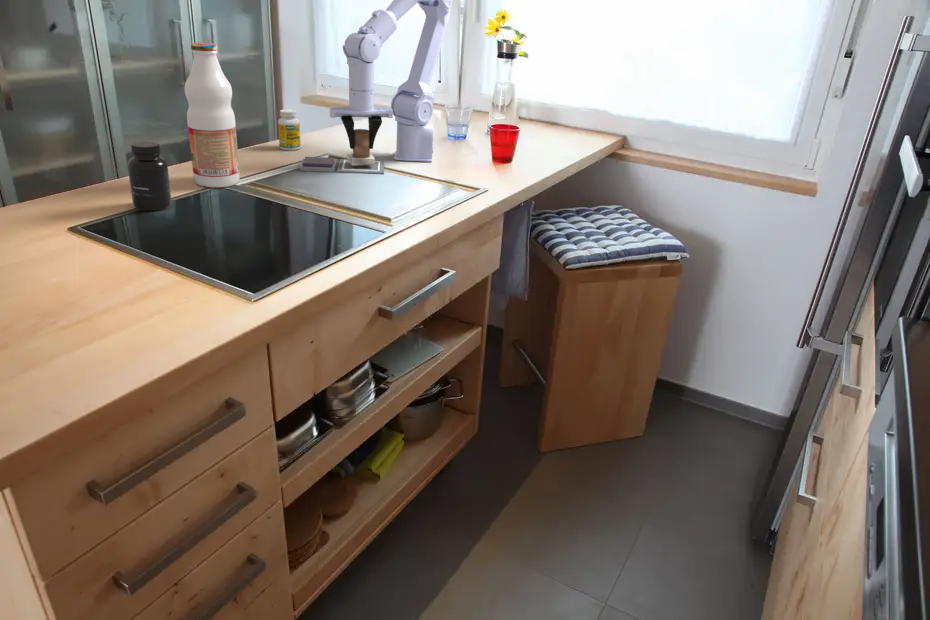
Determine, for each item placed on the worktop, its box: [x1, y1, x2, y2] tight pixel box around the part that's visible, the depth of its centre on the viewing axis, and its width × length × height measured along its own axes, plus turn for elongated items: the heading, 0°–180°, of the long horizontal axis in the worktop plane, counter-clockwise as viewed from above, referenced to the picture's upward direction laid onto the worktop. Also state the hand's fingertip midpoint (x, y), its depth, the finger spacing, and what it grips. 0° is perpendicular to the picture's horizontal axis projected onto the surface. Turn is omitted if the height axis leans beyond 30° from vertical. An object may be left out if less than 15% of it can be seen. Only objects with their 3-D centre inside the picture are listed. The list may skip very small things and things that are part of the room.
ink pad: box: [299, 156, 338, 173], centre depth 163 cm, size 8×7×2 cm
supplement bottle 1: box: [127, 140, 172, 212], centre depth 128 cm, size 7×7×12 cm
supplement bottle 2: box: [277, 108, 301, 151], centre depth 175 cm, size 5×5×10 cm
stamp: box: [347, 128, 376, 165], centre depth 164 cm, size 6×6×8 cm
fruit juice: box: [184, 42, 241, 188], centre depth 141 cm, size 9×9×28 cm
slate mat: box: [336, 158, 385, 175], centre depth 166 cm, size 11×11×1 cm
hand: (361, 148), depth 164 cm, fingers closed on stamp, 4 cm apart
